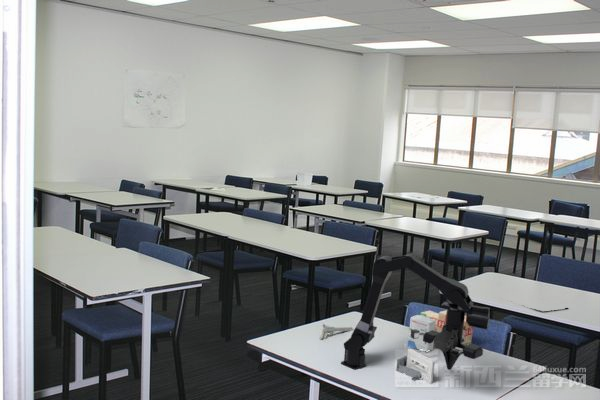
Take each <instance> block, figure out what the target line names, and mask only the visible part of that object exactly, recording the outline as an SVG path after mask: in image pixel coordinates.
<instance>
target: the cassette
mask: <svg viewBox="0 0 600 400" xmlns="http://www.w3.org/2000/svg"><path fill="white" fill-rule="evenodd" d="M406 366H407V367H409V368H411V369H414V370H416V371H419V372H421V374H420V378H422V379H424V380H423V381H424V382H425V381H426V382H425V383H428V384H433V380H434V372H435V360H433V359H431V358H429V357H427V356H426V355H423V354H422V353H420V352H418V351H416V350H414V349H413V348H407V364H406ZM422 379H421V380H422Z"/></svg>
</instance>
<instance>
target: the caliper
mask: <svg viewBox="0 0 600 400" xmlns="http://www.w3.org/2000/svg"><path fill="white" fill-rule="evenodd" d="M354 329H355V328H353V327H352V326H338V327H337V326H333V325H332V326H331V325H329V326H328V324H327V323H323V324H322V326H321V328H320V332H319V339H320V340H326V338H327V336H328V334H331V335H333V334H334V333H335V332H351V331H354Z"/></svg>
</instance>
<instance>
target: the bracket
mask: <svg viewBox="0 0 600 400" xmlns="http://www.w3.org/2000/svg"><path fill="white" fill-rule="evenodd" d="M396 361H397V362H396V368H395V369H396V370H395V371H396V372H398V373H400V374H403V373H405V374H406V375H405V374H404V375H405V376H408V377H410V378H411V380H412V381H414V382H416V381H417V380H419V381H420V380H421V379H420V374H421V372H419V371H416V370H414V369H411V368H409V367H407V366H406V364H407V356H405V355H404V356H403V357H400V358H398V359H396Z"/></svg>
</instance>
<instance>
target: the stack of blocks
mask: <svg viewBox="0 0 600 400" xmlns="http://www.w3.org/2000/svg"><path fill="white" fill-rule="evenodd" d="M446 313H447V309H446V310H441V311H439V312H435V311H432V310H426V311H422V312H420V313H419V315H420V316H423V317H427V318H430V319H433V320H435V321H436V325H435V331H437V332H439V333H440V332H441V331H442V327H443V325H445V322H446ZM466 316H467V315H465V319H464V326H466V327H465V330H463V336H462V338H463V339H464V342H462V344H464V345H469V344H471V343H472V338H473V334H474V333H473V332H474V327H471V326H469V324H467V322H466Z"/></svg>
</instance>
